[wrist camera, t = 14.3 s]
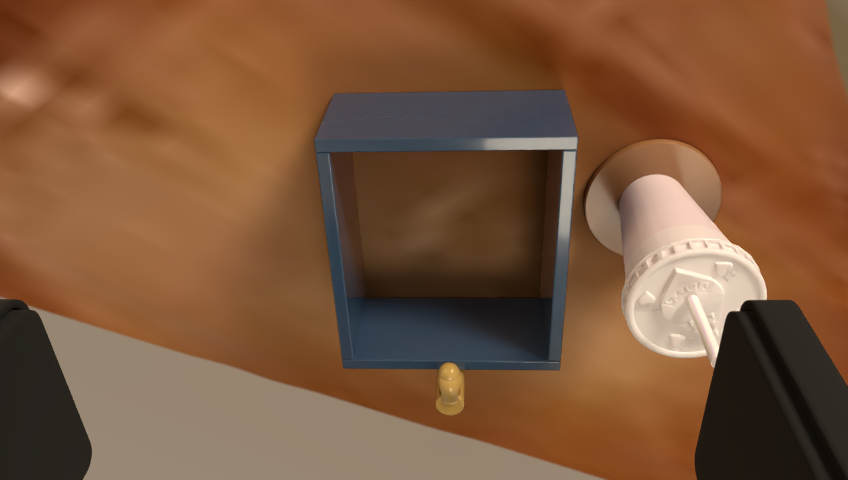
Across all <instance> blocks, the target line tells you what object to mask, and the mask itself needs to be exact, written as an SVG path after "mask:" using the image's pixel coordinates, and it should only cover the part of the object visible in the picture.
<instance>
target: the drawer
mask: <svg viewBox="0 0 848 480" xmlns="http://www.w3.org/2000/svg"><path fill="white" fill-rule="evenodd" d="M314 145H315V152H316V159H317V167H318V175H319V183H320V191H321V199H322V206H323V214H324V222H325V230H326V238H327V246H328V254H329V262H330V269H331V277H332V285H333V293H334V301H335V309H336V317H337V324H338V332H339V340H340V348H341V356H342V364H343V368H350V369H437V385H436V402H435V405H436V408H437V410H438V411H439V412H441V413H442V414H445V415H455V414H458V413H460V412H461V411H462V410H463V408H464V385H465V370H560V363H561V361H560V360H561V350H562V338H563V325H564V313H565V300H566V287H567V275H568V262H569V249H570V237H571V224H572V211H573V199H574V186H575V173H576V161H577V149H578V134H577V130H576V127H575V123H574V120H573V117H572V113H571V110H570V106H569V103H568V100H567V96H566V93H565V90H531V91H470V92H408V93H346V94H334V95H333V97H332V99H331V102H330V104H329V106H328V109H327V111H326V113H325V115H324V118H323V120H322V122H321V125H320V127H319V129H318V132H317V134H316V136H315V139H314ZM501 150H548V166H547V184H546V202H545V219H544V237H543V255H542V273H541V290H540V298H366V290H365V280H364V270H363V259H362V249H361V239H360V229H359V219H358V209H357V198H356V188H355V178H354V168H353V158H352V152H409V151H501Z"/></svg>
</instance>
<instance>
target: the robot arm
mask: <svg viewBox="0 0 848 480" xmlns="http://www.w3.org/2000/svg"><path fill="white" fill-rule="evenodd" d="M91 456H92V448H91V443H90V440H89V438H88V435H87V433H86V431H85V428H84V426H83V423H82V420H81V418H80V415H79V413H78V411H77V408H76V406H75V403H74V400H73V398H72V395H71V393H70V390H69V388H68V385H67V383H66V380H65V378H64V375H63V373H62V370H61V368H60V365H59V363H58V360H57V358H56V356H55V353H54V351H53V348H52V345H51V343H50V340H49V338H48V335H47V333H46V330H45V328H44V325H43V323H42V320H41V318H40V316H39V315H38V314H37V313H36V312H35V311H33V310H29V308H28V306H27V305H26V304H25V303H24V302H23V301H21V300H16V299H0V480H83V478H84V476H85V474H86V473H87V471H88V468H89V466H90V462H91ZM695 470H696V476H697V480H848V386H847V385H846V383H845V381H844V380H843V378H842V376H841V375H840V373H839V372H838V370H837V368H836V367H835V365H834V363H833V362H832V360H831V358H830V357H829V355H828V354H827V352H826V350H825V349H824V347H823V345H822V344H821V342H820V341H819V339H818V337H817V336H816V334H815V332H814V331H813V329H812V327H811V326H810V324H809V323H808V321H807V319H806V318H805V316H804V314H803V313H802V311H801V309H800V308H799V306H798V305H797V304H796V303H795V302H794V301H791V300H747V301H744V303H743V304H742V305H741V308H740V311H731V312H729V313H728V314H727V316H726V319H725V323H724V328H723V332H722V337H721V341H720V346H719V350H718V354H717V359H716V363H715V368H714V372H713V376H712V381H711V385H710V390H709V394H708V398H707V403H706V407H705V412H704V416H703V420H702V425H701V429H700V434H699V438H698V443H697V447H696V452H695Z"/></svg>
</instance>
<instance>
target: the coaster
mask: <svg viewBox="0 0 848 480" xmlns="http://www.w3.org/2000/svg"><path fill="white" fill-rule="evenodd" d="M655 174H658V175H665V176H669V177H671V178H673V179H675V180H676V181H677V182H679V184H680V185H681V186H682V187H683V188H684V189H685V190H686V192H687V193H688V194H689V195H690V196H691V197H692V199H693V200H694V201H695V202H696V203H697V204H698V206H699V207H700V208H701V209H702V210H703V211H704V213H705V214H706V215H707V216H708V217H709V218H710V220H711V221H712V222H714V220H715V218H716V216H717V214H718V211H719V208H720V205H721V198H722V187H721V182H720V178H719V175H718V173H717V171H716V169H715V168H714V166H713V164H712V163H711V162H710V160H709V159H708V158H707V157H706V156H705V155H704V154H703V153H702V152H701V151H699V150H697V149H696V148H694V147H692V146H690V145H688V144H686V143H683V142H679V141H675V140H669V139H653V140H646V141H641V142H638V143H634V144H631V145H629V146H627V147H624V148H622V149H621V150H619V151H617V152H615V153H614V154H613V155H611V156H610V157H609V158H607V159H606V160H605V161H604V162H603V163H602V164H601V165H600V166H599V168H598V169H597V170H596V171H595V173H594V174H593V176H592V177H591V179H590V181H589V183H588V186H587V189H586V192H585V197H584V212H585V217H586V221H587V224H588V227H589V229H590V231H591V232H592V234H593V235H594V237H595V238H596V239H597V240H598V241H599V242H600V243H601V244H602V245H603V246H604V247H606V248H607V249H609V250H611V251H612V252H614V253H617V254H619V255H622V256H623V245H622V234H621V223H620V212H619V202H620V198H621V196H622V194H623V192H624V191H625V189H626V188H627V187H628V186H629V185H630V184H631V183H632V182H634V181H635V180H637V179H639V178H641V177H644V176H648V175H655Z"/></svg>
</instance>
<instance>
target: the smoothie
mask: <svg viewBox="0 0 848 480" xmlns="http://www.w3.org/2000/svg"><path fill="white" fill-rule="evenodd" d="M619 212H620V223H621V234H622V245H623V257H624V268H625V284H624V287H623V291H622V294H621V305H622V311H623V314H624V316H625V319H626V322H627V324H628V327H629V329H630V331H631V333H632V334H633V336H634V337H635V338H636V339H637V340H638V341H639V342H640V343H641V344H642V345H644V346H645V347H647V348H648V349H650V350H652V351H654V352H656V353H659V354H662V355H665V356H670V357H677V358H695V357H702V356H707V355H708V358H709V360H710V363H711V365H712V366H713V367H715V363H716V359H717V354H718V350H719V346H720V341H721V337H722V332H723V328H724V323H725V319H726V316H727V314H728V313H729V312H731V311H740V308H741V305H742V304H743V303H744V301H747V300H767V290H766V285H765V282H764V279H763V277H762V275H761V273H760V269H759V267H758V266H757V264H756V263H755V261H754V260H753V258H752V257H751V255H749V254H748V253H747V252H745V251H744V250H743V249H741V248H740V247H739V246H737V245H735V244H732V243H731V242H730V241H729V240H728V239H727V238H726V237H725V236H724V235H723V234H722V232H721V231H720V230H719V229H718V228H717V227H716V225H715V224H714V223H713V222H712V221H711V220H710V218H709V217H708V216H707V215H706V214H705V213H704V211H703V210H702V209H701V208H700V207H699V206H698V204H697V203H696V202H695V201H694V200H693V199H692V197H691V196H690V195H689V194H688V193H687V192H686V190H685V189H684V188H683V187H682V186H681V185H680V184H679V182H677V181H676V180H675V179H673V178H671V177H669V176H665V175H658V174H655V175H648V176H644V177H641V178H639V179H637V180H635V181H634V182H632V183H631V184H630V185H629V186H628V187H627V188H626V189H625V191H624V192H623V194H622V196H621V198H620V202H619Z"/></svg>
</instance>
